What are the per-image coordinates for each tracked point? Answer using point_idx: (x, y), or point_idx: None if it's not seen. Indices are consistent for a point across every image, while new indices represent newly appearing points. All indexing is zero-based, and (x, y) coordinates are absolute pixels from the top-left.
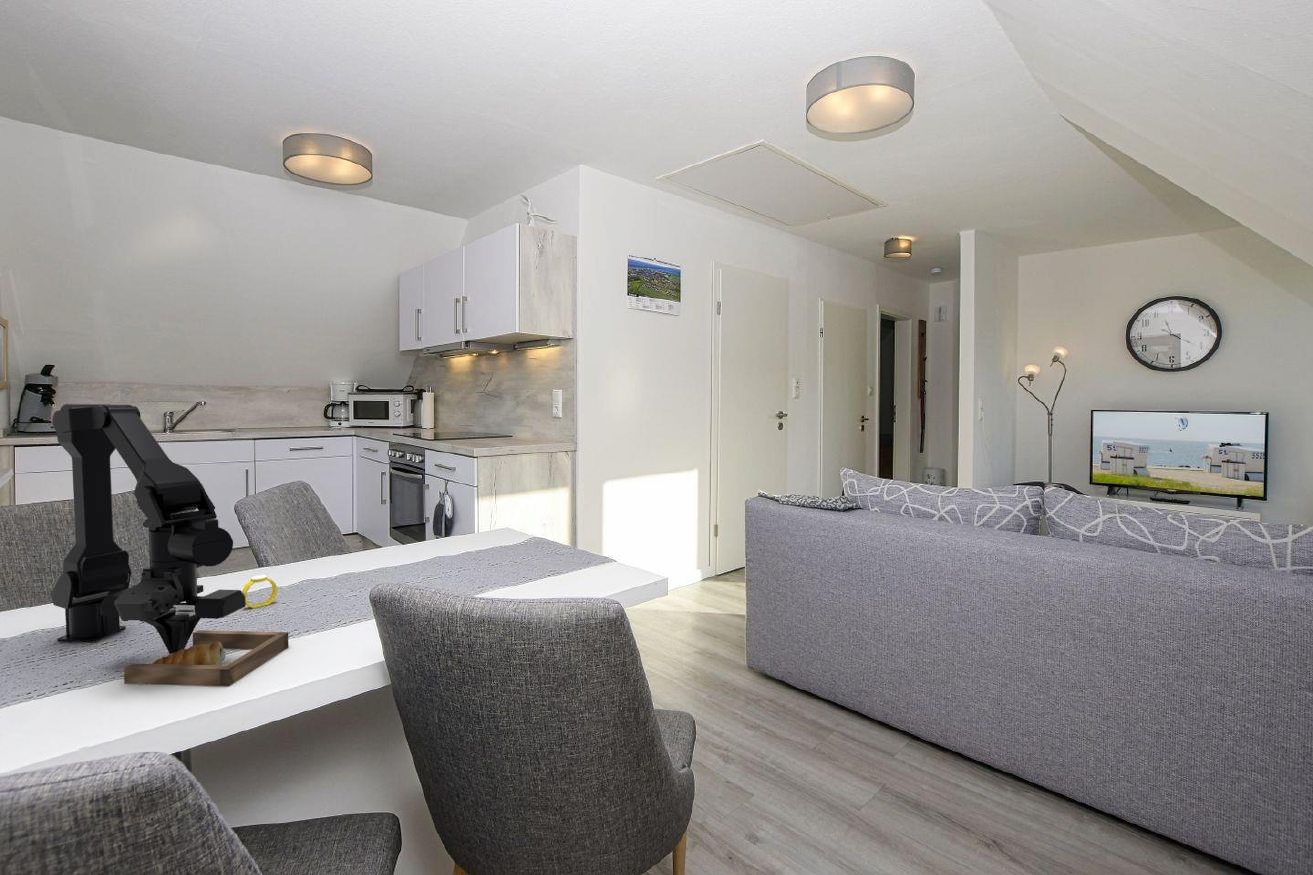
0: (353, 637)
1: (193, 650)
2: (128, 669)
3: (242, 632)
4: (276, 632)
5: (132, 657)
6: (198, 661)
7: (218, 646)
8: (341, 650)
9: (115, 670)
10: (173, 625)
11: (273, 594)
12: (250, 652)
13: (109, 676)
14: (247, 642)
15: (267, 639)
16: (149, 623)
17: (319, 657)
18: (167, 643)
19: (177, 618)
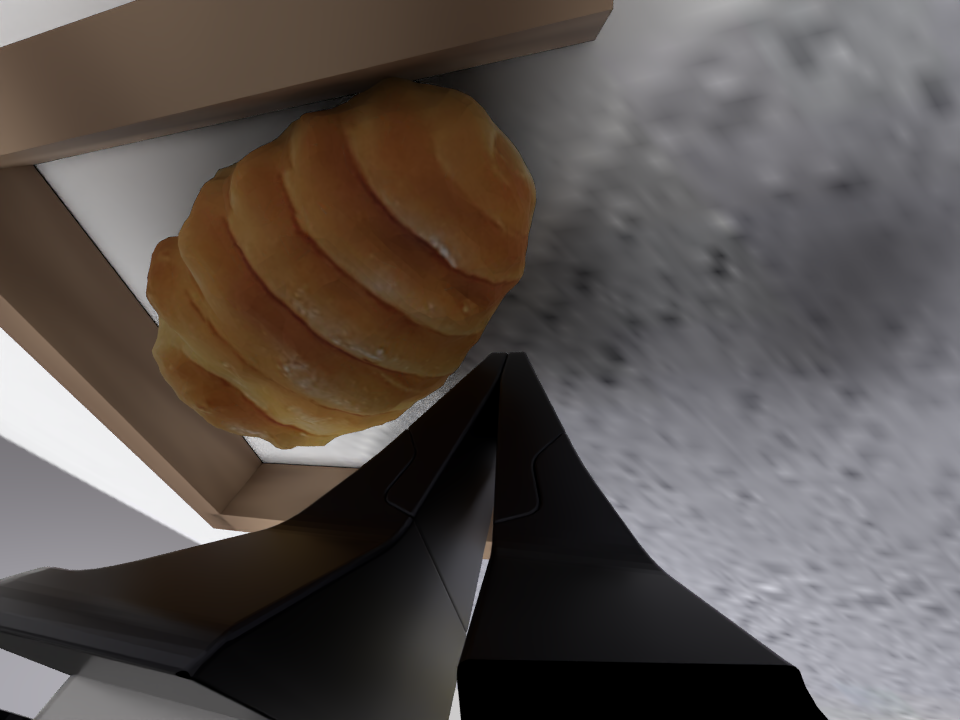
0: (181, 518)
1: (229, 322)
2: None
3: None
4: (247, 529)
5: (856, 390)
6: (165, 243)
7: (171, 386)
8: (102, 457)
9: (876, 194)
10: (322, 544)
11: None
12: (65, 369)
13: (868, 65)
14: None
15: (267, 498)
16: (700, 619)
17: (86, 418)
18: (519, 402)
19: (84, 666)
